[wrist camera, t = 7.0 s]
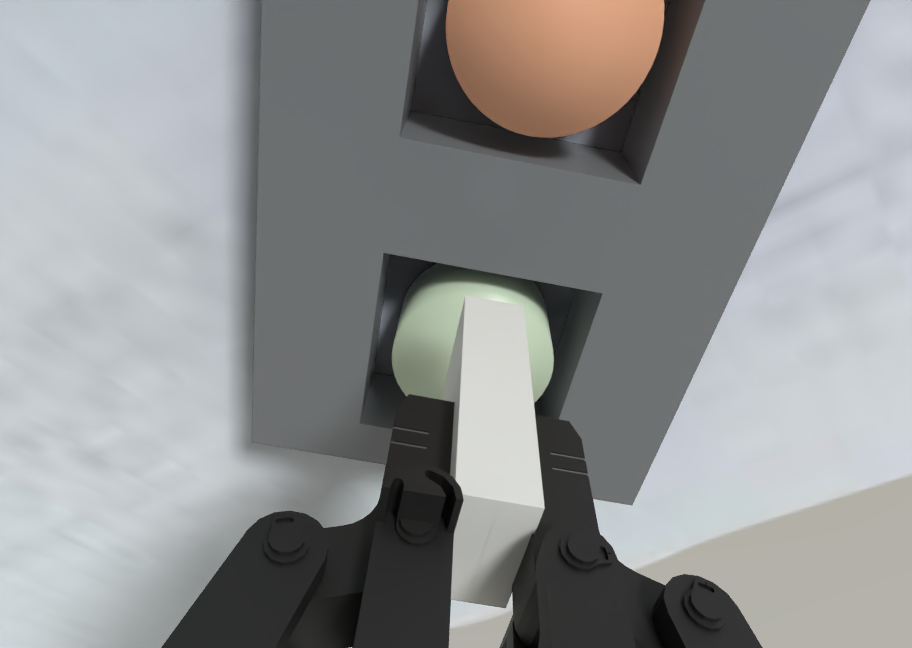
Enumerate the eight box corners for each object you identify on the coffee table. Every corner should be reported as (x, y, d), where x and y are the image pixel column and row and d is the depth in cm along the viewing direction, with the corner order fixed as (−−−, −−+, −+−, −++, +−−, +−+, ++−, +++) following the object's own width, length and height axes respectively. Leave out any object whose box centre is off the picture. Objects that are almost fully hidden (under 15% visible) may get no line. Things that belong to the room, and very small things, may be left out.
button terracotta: (436, 94, 19) (429, 116, 17) (470, -117, 16) (468, -125, 14) (607, 129, 19) (623, 155, 17) (669, -72, 16) (698, -73, 14)
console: (275, 390, 25) (251, 442, 23) (346, -1148, 10) (296, -1530, 7) (617, 449, 26) (632, 505, 24) (1185, -881, 11) (1409, -1142, 8)
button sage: (391, 367, 24) (382, 411, 22) (412, 242, 21) (403, 278, 19) (527, 390, 24) (531, 437, 22) (564, 270, 22) (573, 309, 19)
